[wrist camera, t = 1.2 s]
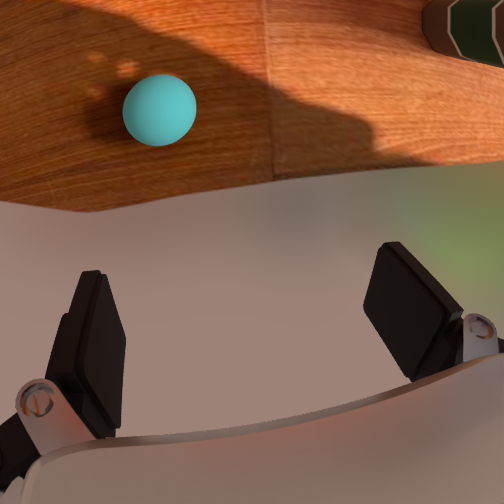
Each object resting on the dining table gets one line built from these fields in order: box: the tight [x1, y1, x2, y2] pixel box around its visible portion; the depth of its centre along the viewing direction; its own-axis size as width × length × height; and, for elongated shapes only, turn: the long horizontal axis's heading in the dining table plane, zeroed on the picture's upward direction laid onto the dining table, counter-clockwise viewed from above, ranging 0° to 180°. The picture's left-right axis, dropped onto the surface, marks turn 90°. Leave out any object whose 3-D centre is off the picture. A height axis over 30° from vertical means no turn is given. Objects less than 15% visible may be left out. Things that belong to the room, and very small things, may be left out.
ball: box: [123, 74, 196, 146], centre depth 24 cm, size 6×6×6 cm
